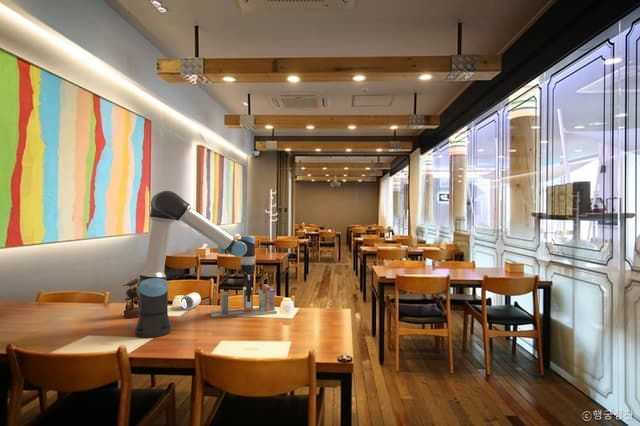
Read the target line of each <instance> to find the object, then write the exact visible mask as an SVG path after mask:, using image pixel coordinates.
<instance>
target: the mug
mask: <svg viewBox="0 0 640 426" xmlns="http://www.w3.org/2000/svg"><path fill="white" fill-rule="evenodd" d="M180 299H181V302H182V300H183V299H185V300H186V303H187V307H186V308H185V309H186V310H185V309H184V310H185V311H189V310H191V309H193V308H195V307H197V306H199V304H201V301H202V297H201V295H200V294H199V293H198V292H194V291H193V292H190V293H188V294H187V295H184V296H183V297H181V298H180Z"/></svg>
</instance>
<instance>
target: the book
mask: <svg viewBox="0 0 640 426" xmlns="http://www.w3.org/2000/svg"><path fill="white" fill-rule="evenodd" d="M251 288H252V295H251V308H246V296H245V294H246V287H244V286H242V309H244V311H246V310H253V308H254V289H253V287H252V286H251ZM248 293H250V292H248Z"/></svg>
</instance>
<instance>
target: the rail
mask: <svg viewBox="0 0 640 426" xmlns="http://www.w3.org/2000/svg"><path fill="white" fill-rule="evenodd" d="M275 294H276V293H275V289H274V288H273V287H271V286H270V285H269V284H263V289H259V290H258V307H253V310H246V311H244V309H243V308H232V309H229V308H228V314H222V309H217V310H216V309H215V310H210V318H211V319H217V318H218V319H219V318H230V317H232V318H234V317H247V316H258V315H259V314H263V315H273V314H274V315H275V314H276V313H278V311H277V310H276V308H275ZM259 316H260V315H259Z"/></svg>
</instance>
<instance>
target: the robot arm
mask: <svg viewBox="0 0 640 426" xmlns="http://www.w3.org/2000/svg"><path fill="white" fill-rule="evenodd" d="M150 207H151V208H150V213H149V219H150V220H151V221H152V223H151V229H150V233H149V234H150V235H149V239H148V246H147V252H146V257H145V265H144V269H143V271H142V272H141V273H139V278H138V280H139V281H138V284H137V285H136V293H137V296H138V298H139V318H137V319H138V320H137V321H136V325H135V328H134V336H135V337H138V338H146V339H148V338H158V337H162V336H166V335H168V334H170V333H171V332H172V329H173V328H172V327H173V326H172V323H171V320H170V317H169V314H168V309H169V308H168V307H169V305H168V304H169V298H168V297H169V296H168V294H169V293H168V292H169V285H168V284H169V283H168V280H166V278H167V276H166V273H165V272H164V270H165V264H166V258H167V253H168V245H169V240H170V235H171V234H170V233H171V228H172V224H173V223H175V221H177V222H180V221H181V222H182V223H184V224H185V225H187V227H190V228H191V229H193V230H195V232H198V233H199V234H201V235H202V236H203V237H205V238H207V239H208V240H209V241H211V242H212V243H214V244H216V245H217V250H218V254H220V255H231V256H234V257H237V258H240V264H241V265H240V272H243V273H244V274H243V282H244V283H243V287H246V294H245V296H246V308H251V295H252V289H253V287H252V277H253V276H252V274H251V273H252V272H255V271H256V264H255V262H256V260H257V258H256V254H255V253H256V237H255V236H254V235H242V236H240V239H237V238H235V237H234V236H233V235H231V234H230V233H229V232H227V231H225V230H224V229H222V228H221V227H220V226H218V225H217V224H216V223H214V222H213V221H211V220H210V219H208V218H207V217H205V216H204V215H202V214H201V213H200V212H198V211H196V210H195V209H193V208H192V207H191V204H190V203H189V202H188V201H186V200H185V199H183V198H182V197H181V196H180V195H179V194H177V193H176V192H174V191H172V190H163V191H160V192H157V193H156V194H155V195H153V197H152V199H151V201H150ZM251 287H252V288H251ZM248 292H250V293H248Z"/></svg>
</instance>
